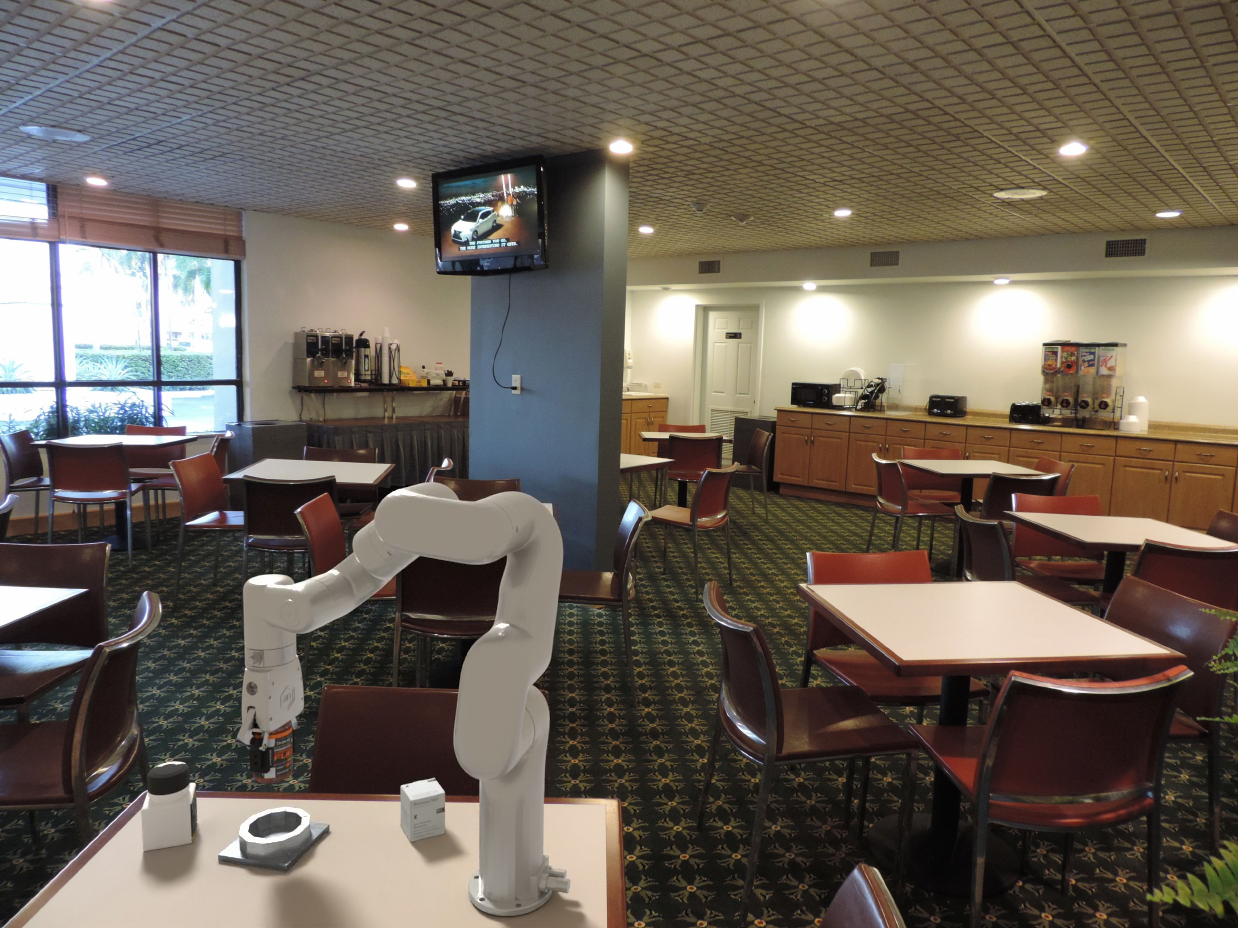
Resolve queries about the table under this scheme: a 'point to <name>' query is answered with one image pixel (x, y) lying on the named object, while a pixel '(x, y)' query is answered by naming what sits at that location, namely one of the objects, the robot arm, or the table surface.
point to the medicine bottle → (169, 807)
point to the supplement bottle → (278, 755)
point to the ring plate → (277, 861)
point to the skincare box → (422, 809)
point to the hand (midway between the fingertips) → (273, 760)
